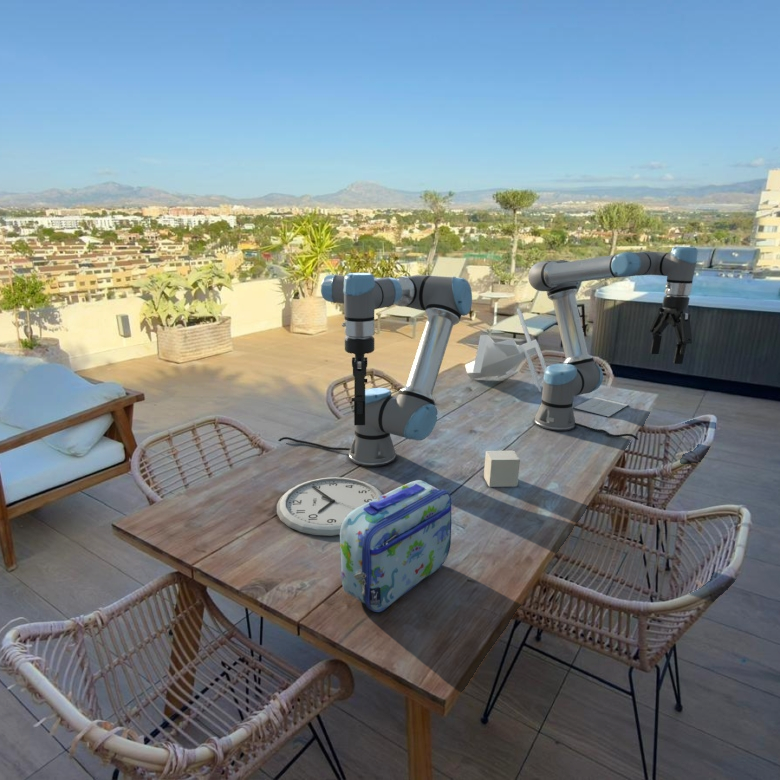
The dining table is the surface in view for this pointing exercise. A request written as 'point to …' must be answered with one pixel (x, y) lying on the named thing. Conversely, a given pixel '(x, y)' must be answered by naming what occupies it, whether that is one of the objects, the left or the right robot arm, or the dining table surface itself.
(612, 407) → the invitation card
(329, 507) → the wall clock
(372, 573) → the lunch box
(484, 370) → the white plastic object
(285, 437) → the left robot arm
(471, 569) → the dining table surface
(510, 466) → the brick
